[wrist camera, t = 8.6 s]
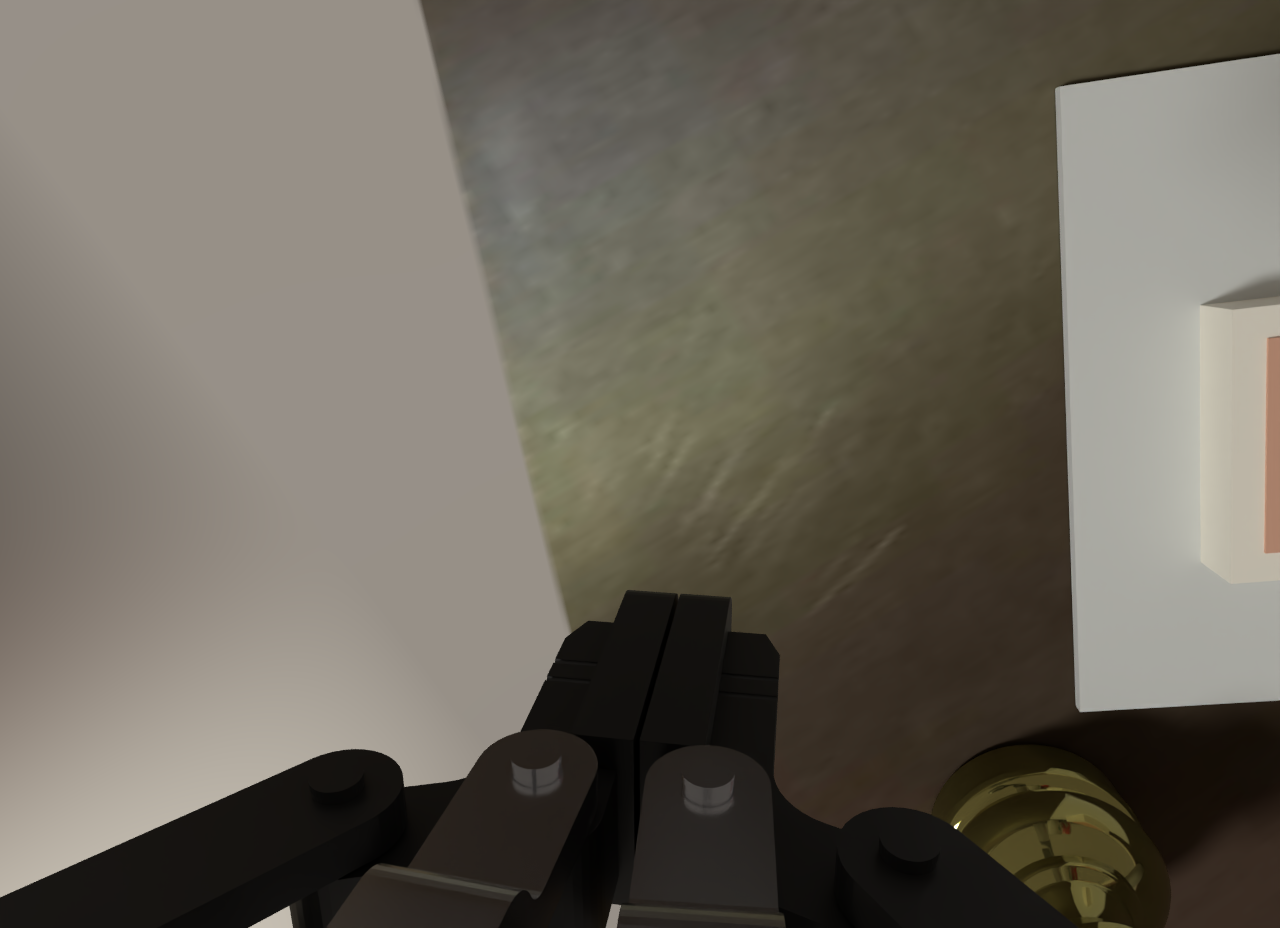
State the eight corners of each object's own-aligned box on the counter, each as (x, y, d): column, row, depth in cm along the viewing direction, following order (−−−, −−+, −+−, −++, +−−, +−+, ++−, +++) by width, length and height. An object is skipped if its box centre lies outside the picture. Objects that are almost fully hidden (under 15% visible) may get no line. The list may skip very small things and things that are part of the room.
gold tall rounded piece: (1110, 916, 37) (1234, 1151, 28) (917, 896, 38) (972, 1118, 29) (1139, 747, 36) (1281, 936, 26) (936, 730, 36) (1002, 907, 27)
